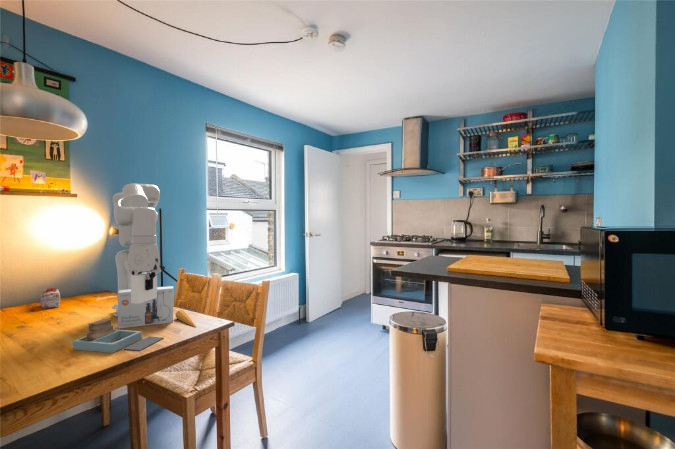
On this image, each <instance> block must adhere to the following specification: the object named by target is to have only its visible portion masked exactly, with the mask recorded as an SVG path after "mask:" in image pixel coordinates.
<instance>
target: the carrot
mask: <svg viewBox="0 0 675 449" xmlns="http://www.w3.org/2000/svg"><path fill="white" fill-rule="evenodd" d="M175 318H176V319H177V320H179V321H181V322H183V323H185V324H187V325H188V326H192V327H194V328H197V326H196V325H195V324H196V323H194V321H193V320H192V318H191V317H190V316H189V315H188V314H187V312H186V311H185V310H183V309H179V310H177V311H175Z"/></svg>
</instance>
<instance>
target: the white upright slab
mask: <svg viewBox="0 0 675 449" xmlns="http://www.w3.org/2000/svg"><path fill="white" fill-rule="evenodd" d="M150 274H151V272H150ZM146 279H147V277H146V272H143V273H141V274H136V275H132V276H131V303H136V304H139V303H142V302H145V301H148V300H151V299H154V298H157V287H158V274H157V275H156V276H155V278H153V289H150V290H145V280H146Z"/></svg>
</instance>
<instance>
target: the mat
mask: <svg viewBox="0 0 675 449" xmlns="http://www.w3.org/2000/svg"><path fill="white" fill-rule="evenodd" d="M161 340H164V337H162V336H147V337H145V338H143V339H141V340H139V341H137V342H135V343H132V344H130V345H128V346H126V347H124V348H123V350H126V351H133V352H134V351H137V352H141V351H143V350H145V349H147V348H149V347H151V346H153V345H154V344H156V343H158V342H161Z"/></svg>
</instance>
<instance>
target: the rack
mask: <svg viewBox="0 0 675 449" xmlns="http://www.w3.org/2000/svg"><path fill="white" fill-rule="evenodd" d="M113 330H114V332H113V333H110V334H108V335H105V336H103V337H100V338H98V339H95V340H93V341H84V340H86V339H87V335H84V336H83V337H80V338H78V339H75V340H72V349H73V350H74V351H75V350H77V351H86V352H87V351H88V352H98V353H100V352H101V353H109V354H113V353H114V354H115V352H118V351H120V350H122V349H124V348H126V347H128V346H130V345H132V344H135V343H137V342H139V341H141V340H143V339H142V338H143V333H142V332H143V331H142V330H140V331H139V330H130V329H129V330H128V329H125V330H124V329H115V328H113Z"/></svg>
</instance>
